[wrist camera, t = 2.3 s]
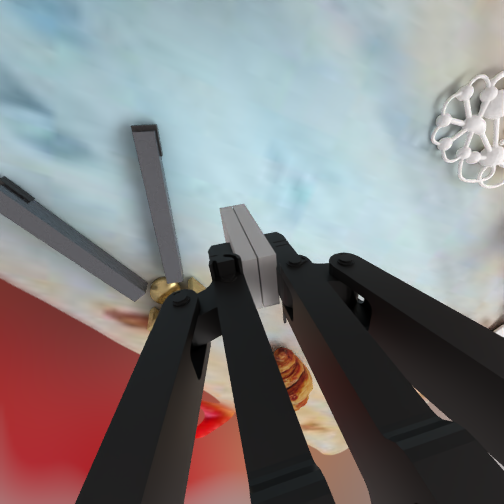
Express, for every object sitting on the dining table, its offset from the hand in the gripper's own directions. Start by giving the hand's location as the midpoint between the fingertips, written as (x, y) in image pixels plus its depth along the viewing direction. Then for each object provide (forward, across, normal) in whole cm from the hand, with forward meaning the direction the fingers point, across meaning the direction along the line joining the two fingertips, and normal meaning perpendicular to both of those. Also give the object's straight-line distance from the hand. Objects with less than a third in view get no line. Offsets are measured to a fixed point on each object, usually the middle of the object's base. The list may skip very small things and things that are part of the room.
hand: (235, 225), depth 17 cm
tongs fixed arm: (+16, -15, -7) cm, 23 cm away
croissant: (+17, +7, -42) cm, 46 cm away
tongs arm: (+16, -7, -3) cm, 18 cm away
